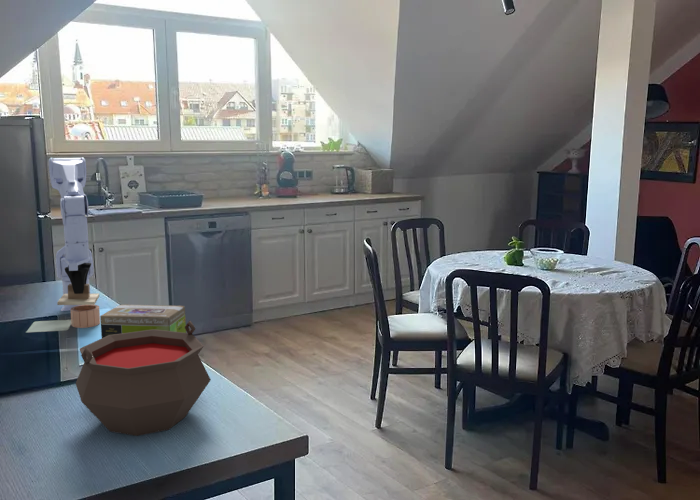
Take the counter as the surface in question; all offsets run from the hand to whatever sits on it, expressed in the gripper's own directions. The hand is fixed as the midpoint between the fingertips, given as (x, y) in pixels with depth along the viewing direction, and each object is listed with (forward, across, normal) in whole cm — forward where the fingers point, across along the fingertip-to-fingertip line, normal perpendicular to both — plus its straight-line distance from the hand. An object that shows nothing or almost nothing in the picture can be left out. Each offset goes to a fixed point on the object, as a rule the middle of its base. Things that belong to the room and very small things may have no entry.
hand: (79, 292), depth 176 cm
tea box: (+10, +41, +19) cm, 46 cm away
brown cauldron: (+10, +63, +21) cm, 67 cm away
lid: (+2, 0, 0) cm, 2 cm away
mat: (+9, 0, -8) cm, 12 cm away
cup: (+9, 0, +1) cm, 9 cm away
